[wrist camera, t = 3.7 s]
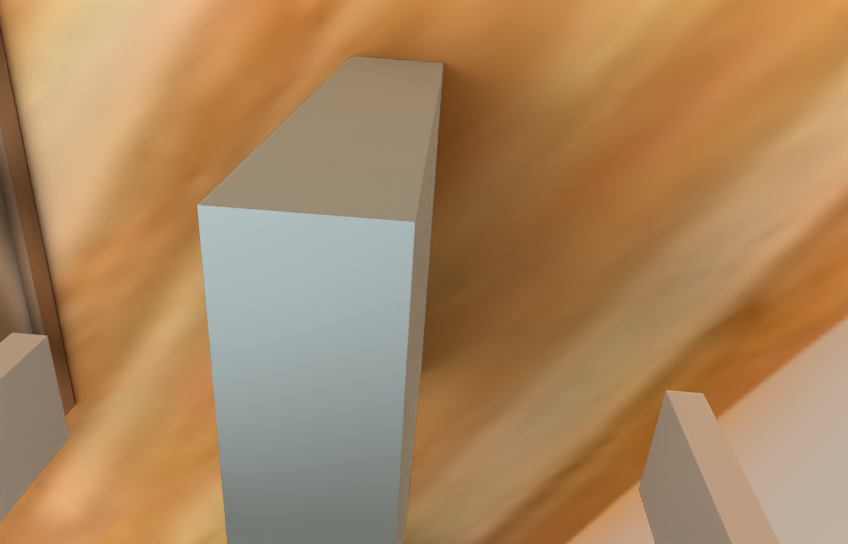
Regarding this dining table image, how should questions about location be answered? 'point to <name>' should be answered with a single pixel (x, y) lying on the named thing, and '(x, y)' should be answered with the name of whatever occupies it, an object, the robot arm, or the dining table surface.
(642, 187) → the dining table surface
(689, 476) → the robot arm
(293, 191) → the rectangular block
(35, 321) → the open wooden box
